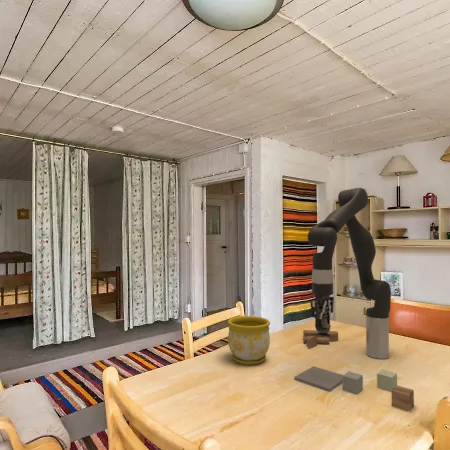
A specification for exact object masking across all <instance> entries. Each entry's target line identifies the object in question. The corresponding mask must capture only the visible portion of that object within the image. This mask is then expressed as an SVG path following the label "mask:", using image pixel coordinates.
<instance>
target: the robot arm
mask: <svg viewBox="0 0 450 450" xmlns="http://www.w3.org/2000/svg"><path fill="white" fill-rule="evenodd" d="M368 196H369V195H368V192H367V191H366V190H365V188H362V187H354V188H350V189H344V190H342V191H340V192H339V193H338V196H337V201H338V208H336V209H335V210H333V211H332V212H330V214H328V216H326V217H325V219H324V220H322V221H320V222H319V223H317V224H315V225H313V226H312V227H311V228H310V230H308V233H307V241H308V243H309V244H310V245H311V246H313V247H323V249H322V251H321V252H316V253H314V254H313V256H312V271H311V293H312V295H315V299H314V300H311V301H310V312H311V318H314V319H315V321H314V327H315V330H316V329H322V319H321V318H322V314H323V313H324V310H325V307H327V315H328V316H327V323H328V325H331V315H332V314H333V313H334V303H335V302H334V301H335V297H334V296H332V295H334V273H333V257H334V252H335V250H336V249H335V248H336V245H337V242H338V233H339V232H340V231H341V230H342V228H343V227H344V226H345V225H346V229H347V232H348V235H349V239H350V240H349V241H350V244H351V249H352V252H353V255H354V258H355V262H356V266H357V270H358V275H359V277H358V278H359V283H360V289H361V292H362V295H363V297H364V298H365V299H367V300H371V301H374V305H373V306H372V307H368V308H366V309H365V351H366V352H365V354H366V356H368V357H369V358H370V357H371V358H373V359H379V360H383V359H384V360H385V359H388V358H389V357H390V327H389V326H390V322H389V320H390V319H389V316H390V315H389V314H390V312H391V303H392V302H391V300H392V298H391V297H392V290H391V289H392V288H391V285H390V283H389V282H388V281H386V280H380V279H375V278H374V275H373V269H372V266H373V263H374V260H375V258H376V255H377V254H376V253H377V248H376V245H375V241H374V237H373V235H372V234H371V233H370V231H369V230H368V229H366V227H365V226H364V225H363V224H362V223H360V221H359V220H358V218H357V217H356V215H357V214H358V213H359V212H361V211H362V210H364V209H365V208H366V207H367V205H368V203H369V197H368ZM319 309H321V310H319ZM319 312H320V315H319Z"/></svg>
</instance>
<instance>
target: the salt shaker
mask: <svg viewBox="0 0 450 450" xmlns="http://www.w3.org/2000/svg"><path fill="white" fill-rule="evenodd" d="M319 310H321V309H319ZM319 315H320V312H319ZM327 316H328V315H327V307H325V310H324V313H323V314H322V318H321V319H322V329H316V328H315V330H317V331H318V333H316V334H315V335H316V336H318V337H324V338H326V337H330V335H329V334H328V332H329V331H331V328H332V325H331V324H330V325H328V323H327Z"/></svg>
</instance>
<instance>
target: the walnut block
mask: <svg viewBox="0 0 450 450" xmlns="http://www.w3.org/2000/svg"><path fill="white" fill-rule="evenodd" d="M414 391H415V390H414V389H411V388H409V387H405V386H402V385H398V384H397V385H396V386H395V387H394V388H393V389H392V392H391V407H394V408H397V409H400V410H403V411H405V412H408V411H409V412H410V411H411V410H412V409H413V408H414V406H415V392H414Z"/></svg>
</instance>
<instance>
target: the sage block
mask: <svg viewBox="0 0 450 450" xmlns="http://www.w3.org/2000/svg"><path fill="white" fill-rule="evenodd" d="M396 385H398V374H397V372H393V371H390V370H386V369H380V370H379V371H378V372H377V373H376V387H377V389H381V390H384V391H387V392H391V393H392V389H393V388H394V387H395V386H396Z"/></svg>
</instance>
